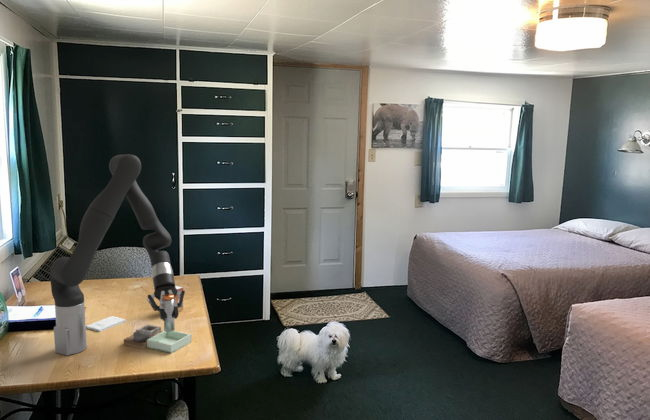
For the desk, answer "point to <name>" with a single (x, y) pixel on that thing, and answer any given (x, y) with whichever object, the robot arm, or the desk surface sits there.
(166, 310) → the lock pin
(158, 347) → the tray
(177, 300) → the small box
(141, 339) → the tensioner bracket
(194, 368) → the desk surface
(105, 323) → the external hard drive
